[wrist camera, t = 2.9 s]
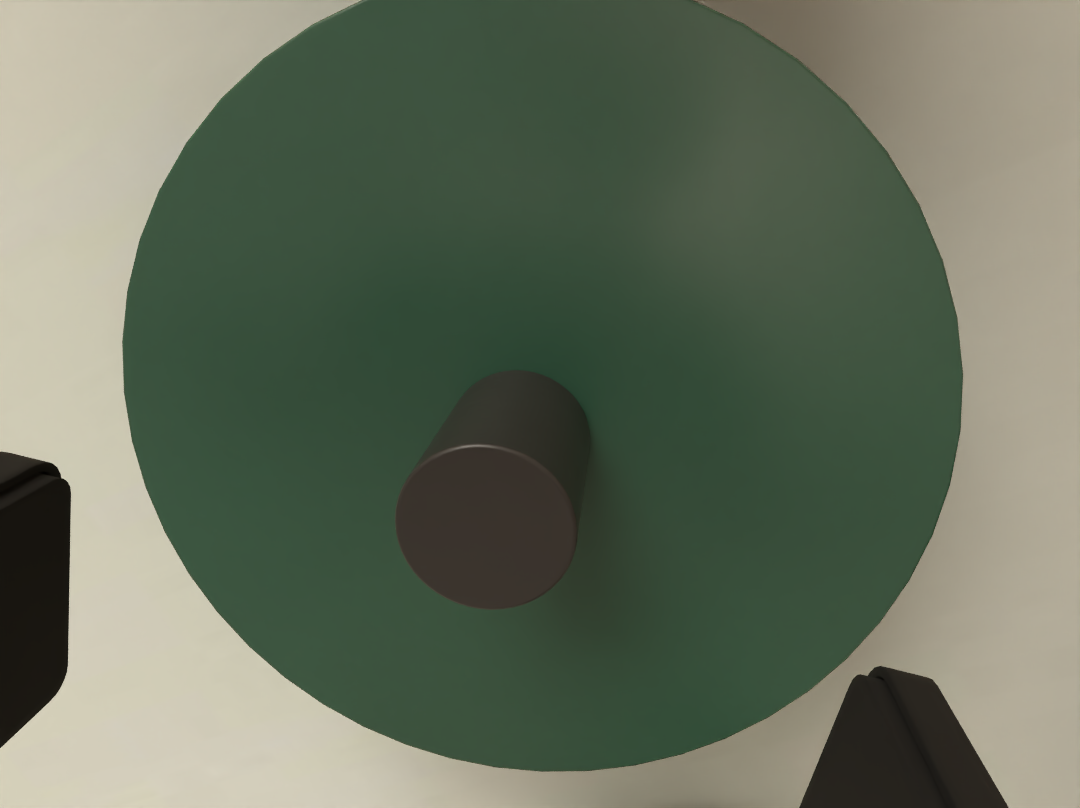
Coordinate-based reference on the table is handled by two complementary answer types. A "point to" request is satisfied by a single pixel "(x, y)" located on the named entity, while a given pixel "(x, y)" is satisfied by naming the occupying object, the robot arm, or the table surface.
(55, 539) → the robot arm
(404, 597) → the lid
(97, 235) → the table surface
